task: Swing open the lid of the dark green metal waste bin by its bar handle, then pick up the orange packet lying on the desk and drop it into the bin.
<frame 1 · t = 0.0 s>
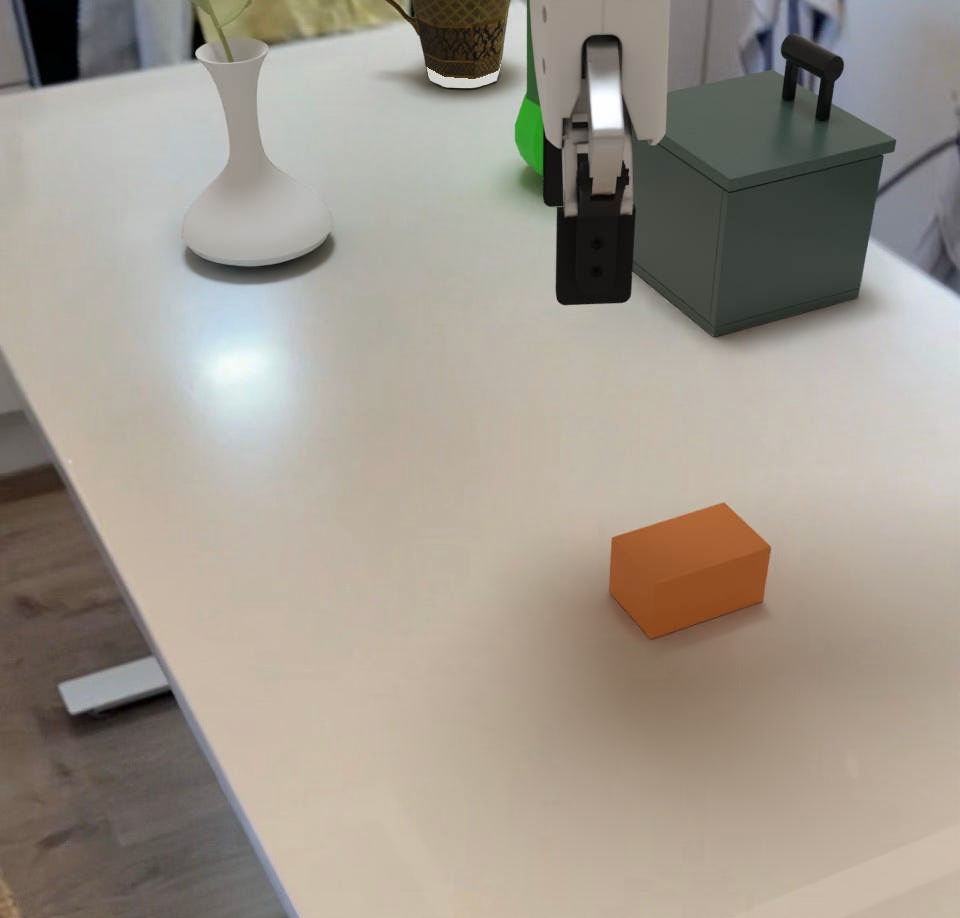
hand: (584, 249, 63), 19 cm above the table, tool pointing down, fingers open, 9 cm apart
bin: (731, 274, 101), on the table
plastic bottle: (574, 178, 113), on the table
orange packet: (685, 596, 76), on the table
bin lid: (755, 95, 92), point 12 cm above the table, hinge at 0.0°
flower in vase: (257, 245, 107), on the table
ceramic cup: (448, 78, 129), on the table
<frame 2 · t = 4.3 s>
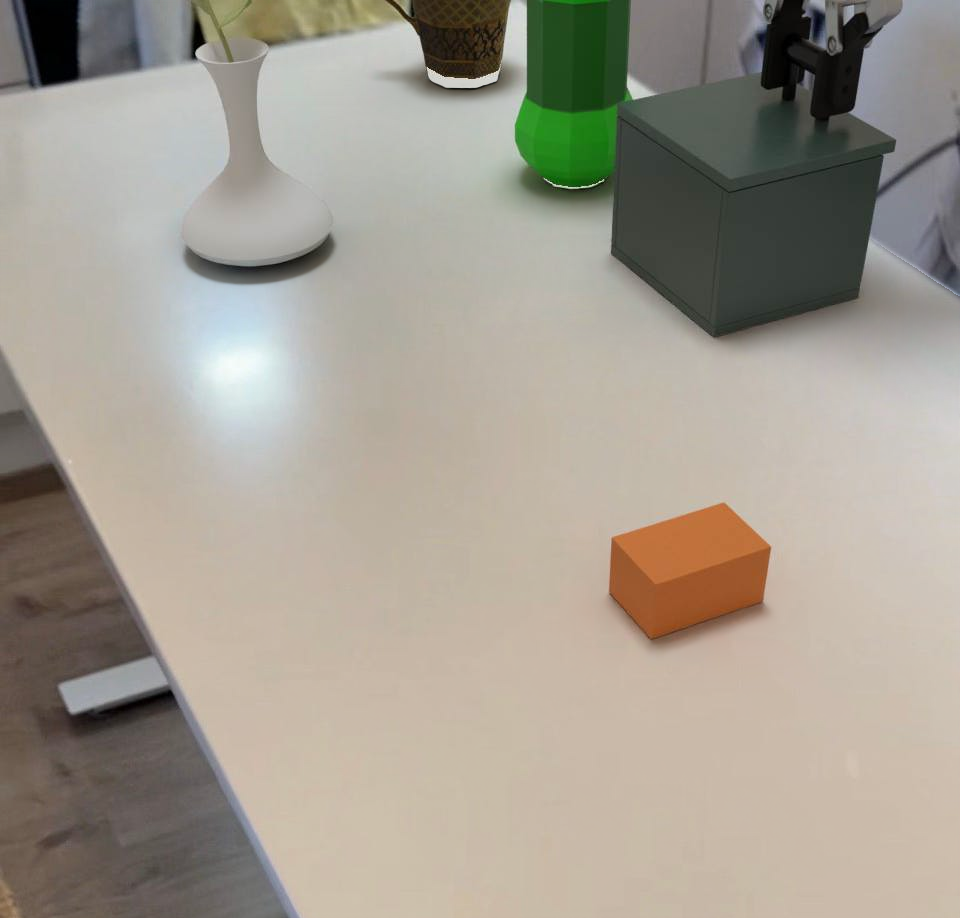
hand: (806, 96, 94), 11 cm above the table, tool pointing down, fingers closed on bin lid, 5 cm apart
bin lid: (755, 95, 92), point 12 cm above the table, hinge at 0.0°, touching gripper
everything else where it was.
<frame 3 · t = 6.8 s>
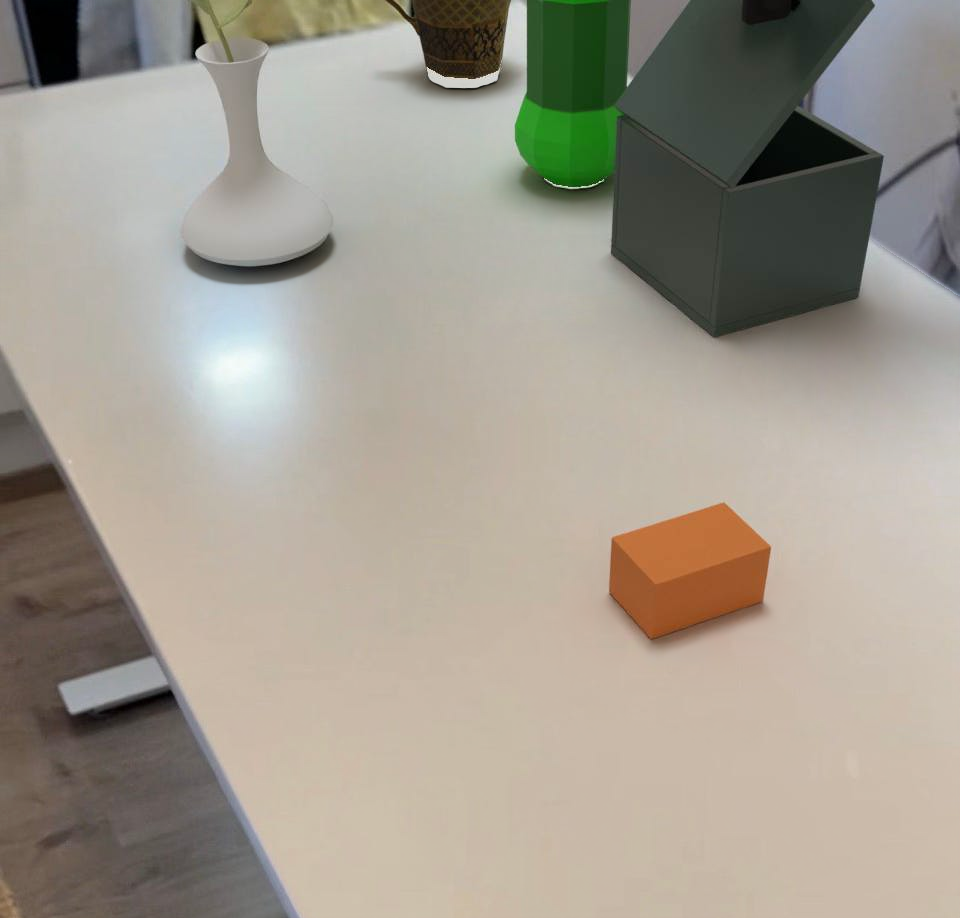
hand: (739, 3, 87), 18 cm above the table, tool pointing down, fingers closed on bin lid, 5 cm apart
bin lid: (718, 39, 88), point 16 cm above the table, hinge at 45.5°, touching gripper
everything else where it was.
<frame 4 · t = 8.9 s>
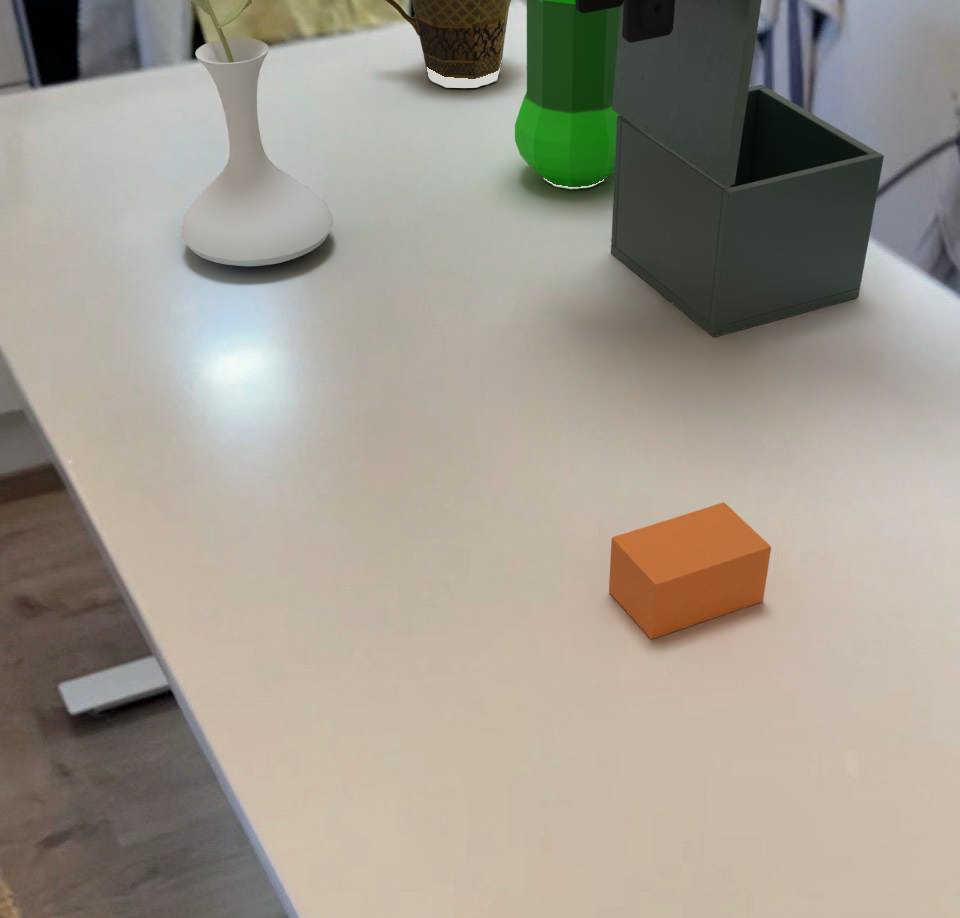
hand: (623, 19, 85), 18 cm above the table, tool pointing down, fingers closed on bin lid, 5 cm apart
bin lid: (654, 43, 87), point 17 cm above the table, hinge at 87.1°, touching gripper
everything else where it was.
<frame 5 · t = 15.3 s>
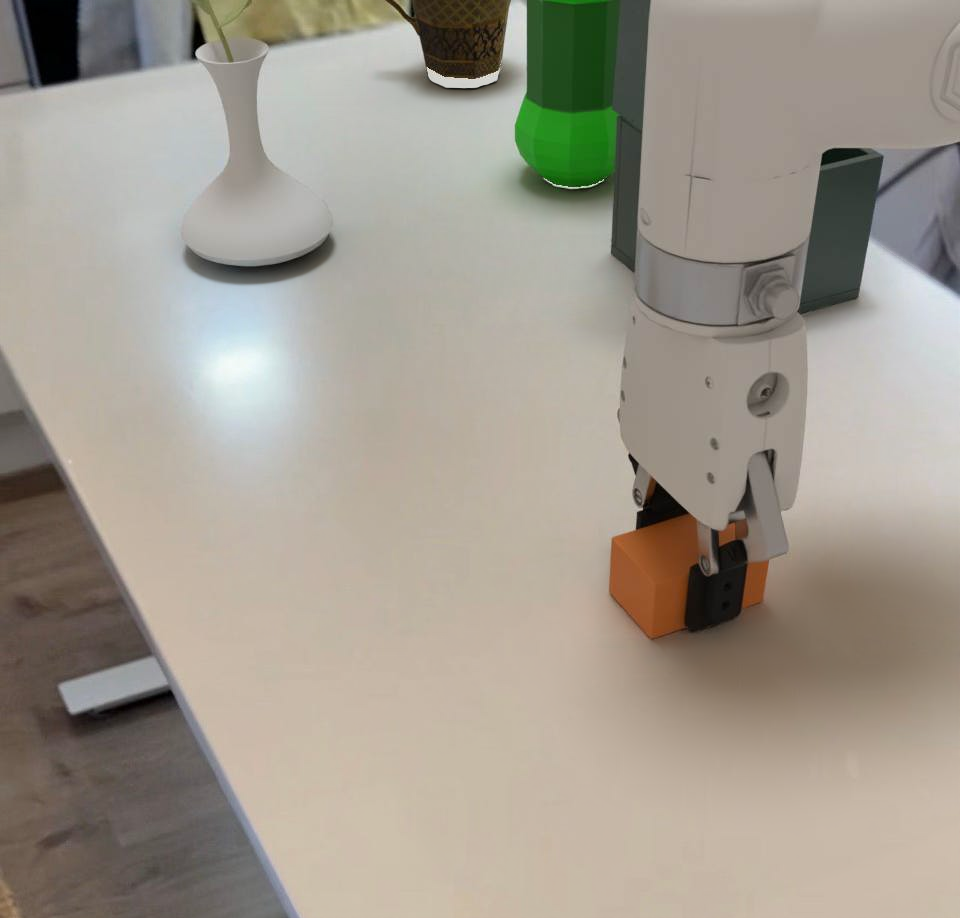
hand: (685, 590, 75), 0 cm above the table, tool pointing down, fingers closed on orange packet, 4 cm apart
orange packet: (685, 596, 76), on the table, touching gripper
bin lid: (654, 43, 87), point 17 cm above the table, hinge at 87.4°
everything else where it was.
when the fingers open (9 cm above the table, at t = 25.3 s): orange packet drops 8 cm, resting on bin.
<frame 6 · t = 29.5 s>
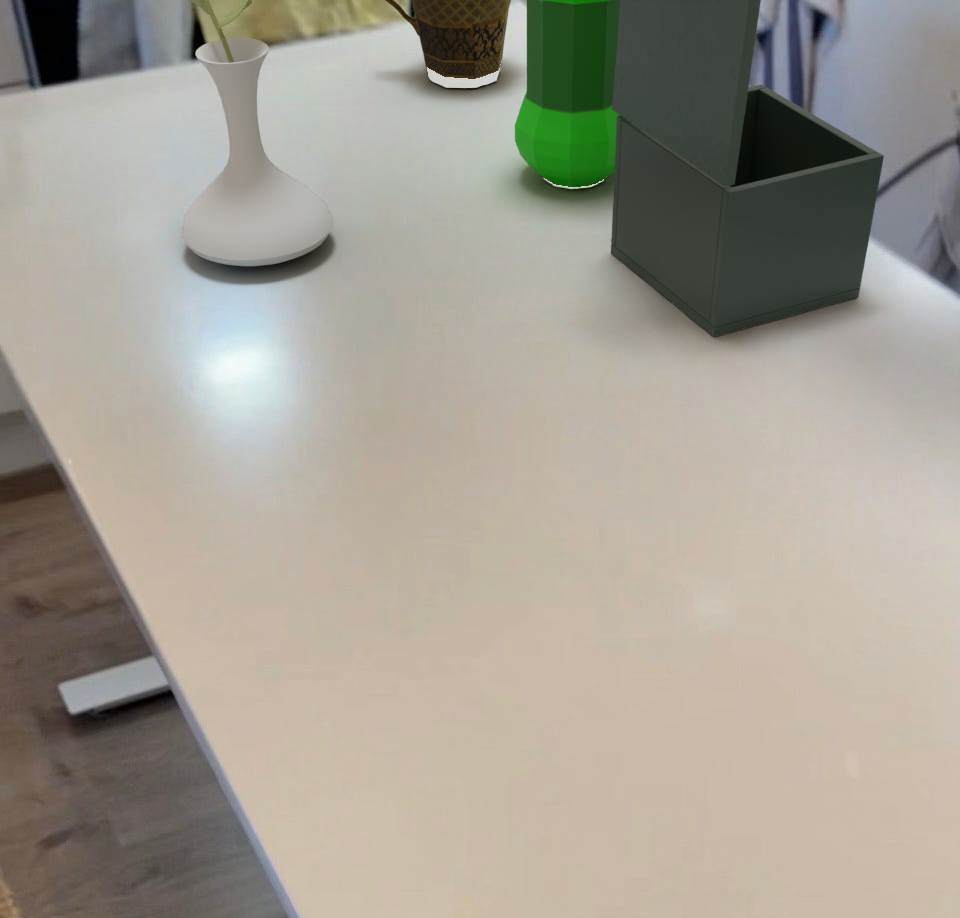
orange packet: (743, 262, 101), point 1 cm above the table, touching bin
everything else where it was.
at the end: bin lid at +87° (first picture: +0°); orange packet inside the target area in the bin (1.0 cm from its centre), point 0.7 cm above the bin's base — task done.
